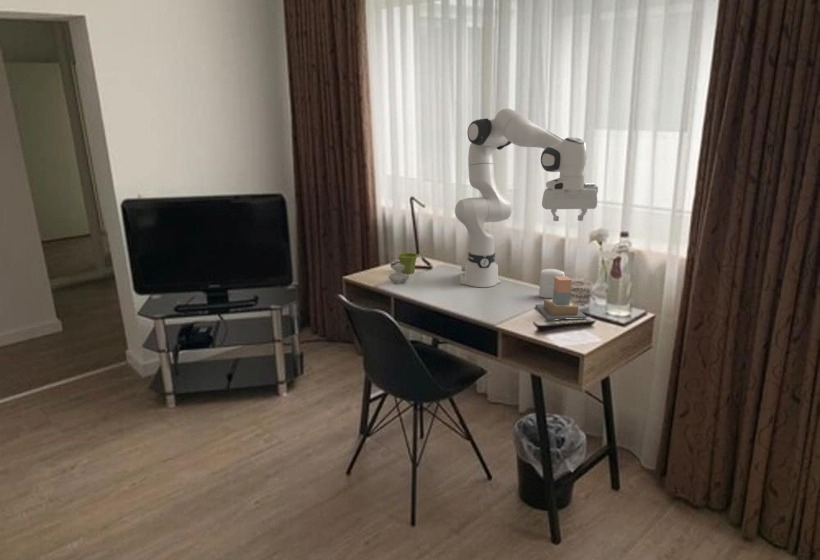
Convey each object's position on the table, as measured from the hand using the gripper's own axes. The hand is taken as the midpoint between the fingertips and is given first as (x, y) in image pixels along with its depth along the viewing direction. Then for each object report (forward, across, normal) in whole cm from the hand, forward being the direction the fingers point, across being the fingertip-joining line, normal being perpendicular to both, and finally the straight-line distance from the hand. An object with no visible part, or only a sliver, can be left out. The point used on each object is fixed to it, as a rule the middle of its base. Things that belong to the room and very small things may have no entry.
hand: (568, 220), depth 223 cm
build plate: (+37, 0, 0) cm, 37 cm away
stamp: (+37, +59, -46) cm, 84 cm away
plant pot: (+37, +53, -62) cm, 90 cm away
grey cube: (+32, 0, 0) cm, 32 cm away
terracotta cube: (+27, 0, 0) cm, 27 cm away
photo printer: (+37, -3, -19) cm, 42 cm away
